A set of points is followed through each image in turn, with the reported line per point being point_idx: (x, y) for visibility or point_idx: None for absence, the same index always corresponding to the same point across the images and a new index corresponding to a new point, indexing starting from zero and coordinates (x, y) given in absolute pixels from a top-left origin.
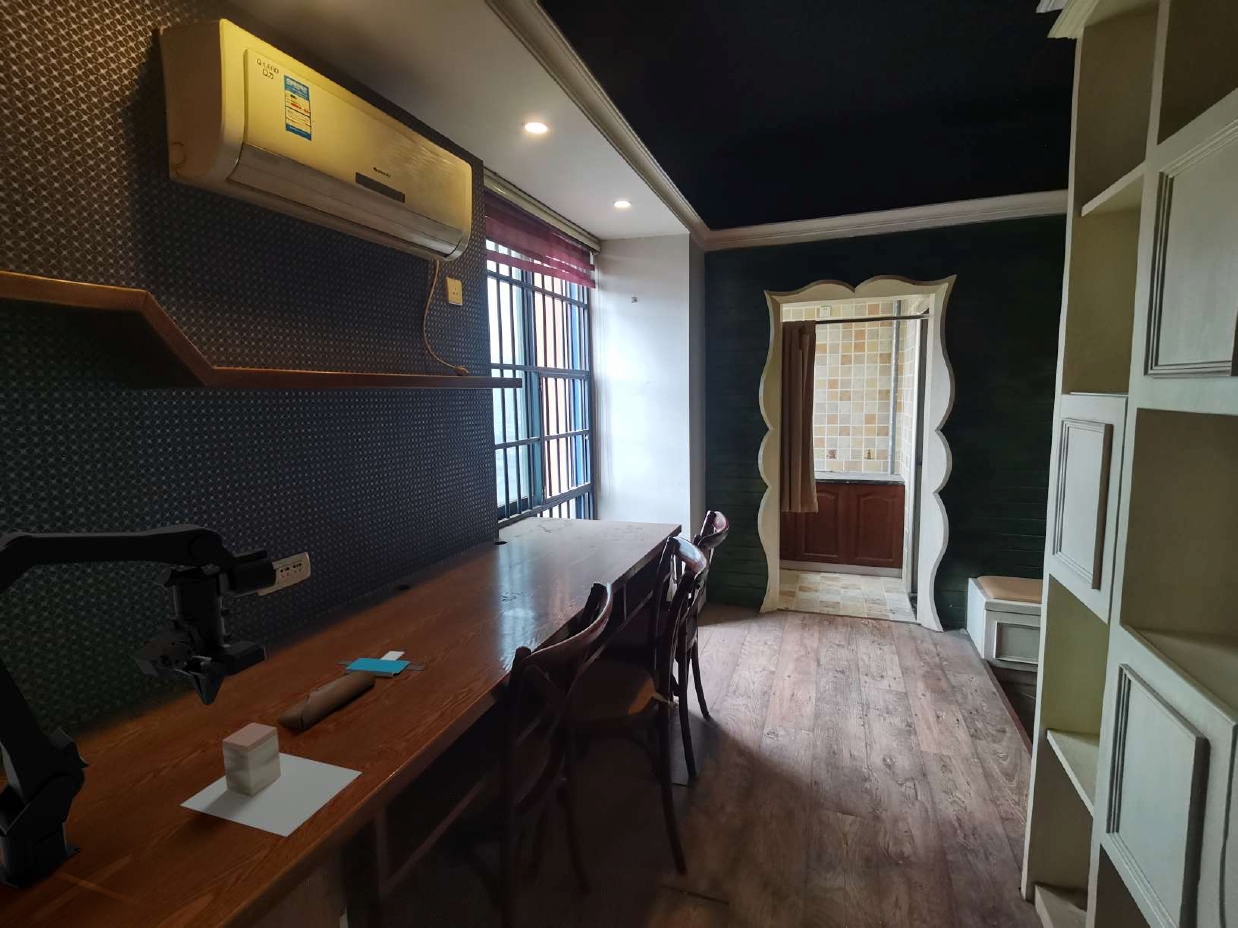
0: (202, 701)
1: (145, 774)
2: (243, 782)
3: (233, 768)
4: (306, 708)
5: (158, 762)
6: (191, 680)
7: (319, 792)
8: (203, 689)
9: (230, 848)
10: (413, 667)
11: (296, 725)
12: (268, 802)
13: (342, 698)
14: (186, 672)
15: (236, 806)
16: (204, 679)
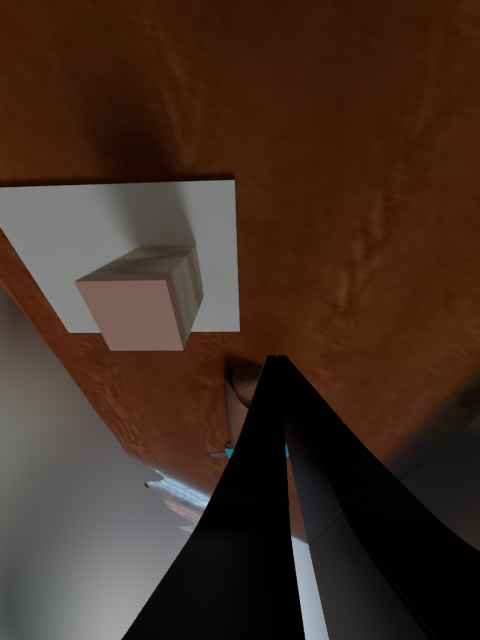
0: (287, 362)
1: (389, 229)
2: (147, 251)
3: (160, 257)
4: (234, 397)
5: (391, 262)
6: (363, 463)
7: (65, 287)
8: (266, 413)
9: (24, 124)
10: (221, 454)
11: (241, 372)
12: (102, 244)
13: (227, 416)
14: (427, 618)
15: (136, 217)
16: (224, 499)
